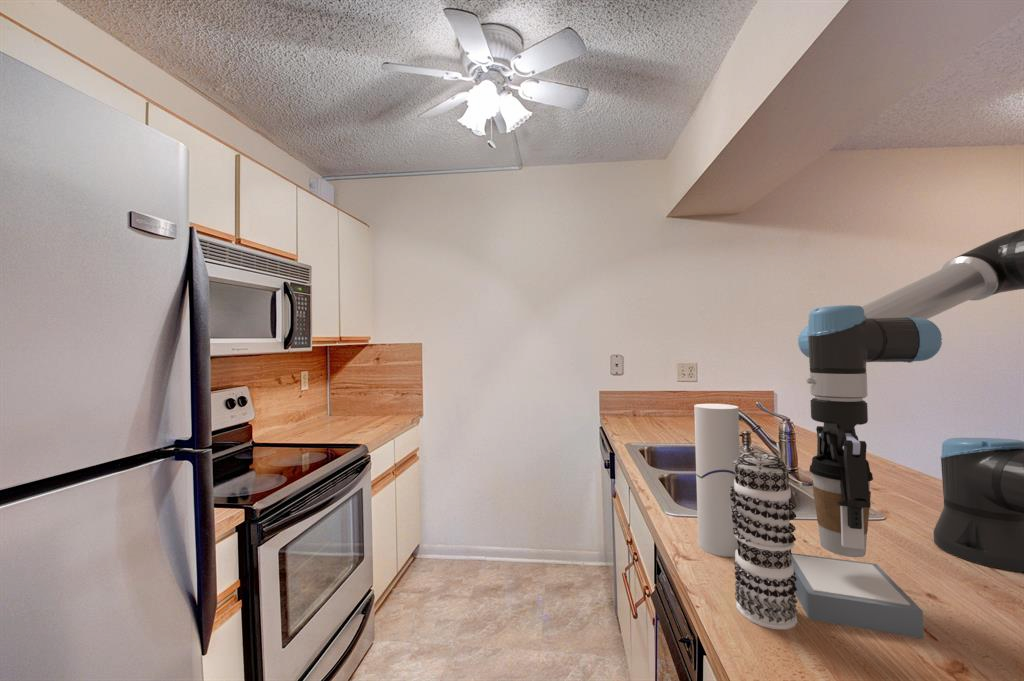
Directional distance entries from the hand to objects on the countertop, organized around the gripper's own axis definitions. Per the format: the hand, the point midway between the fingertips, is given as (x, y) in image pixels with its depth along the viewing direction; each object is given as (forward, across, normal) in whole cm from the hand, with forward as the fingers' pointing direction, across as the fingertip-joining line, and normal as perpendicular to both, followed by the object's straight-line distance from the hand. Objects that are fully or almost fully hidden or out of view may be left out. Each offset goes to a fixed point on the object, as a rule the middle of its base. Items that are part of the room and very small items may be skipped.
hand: (842, 535), depth 69 cm
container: (+11, -15, -17) cm, 25 cm away
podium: (+11, 0, 0) cm, 11 cm away
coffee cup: (+2, 0, 0) cm, 2 cm away
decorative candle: (+11, +7, -13) cm, 18 cm away
